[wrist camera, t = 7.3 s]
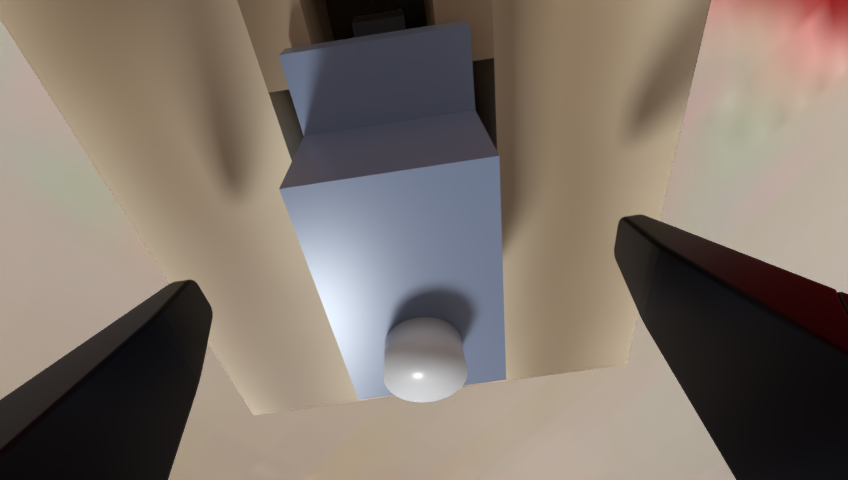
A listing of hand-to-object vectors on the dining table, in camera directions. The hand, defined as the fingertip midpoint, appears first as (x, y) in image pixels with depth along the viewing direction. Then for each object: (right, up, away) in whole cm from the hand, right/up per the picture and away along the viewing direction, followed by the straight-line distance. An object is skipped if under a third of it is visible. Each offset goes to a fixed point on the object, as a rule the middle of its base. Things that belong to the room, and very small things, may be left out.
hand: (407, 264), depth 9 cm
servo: (0, +3, +4) cm, 5 cm away
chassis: (0, +3, +4) cm, 5 cm away
